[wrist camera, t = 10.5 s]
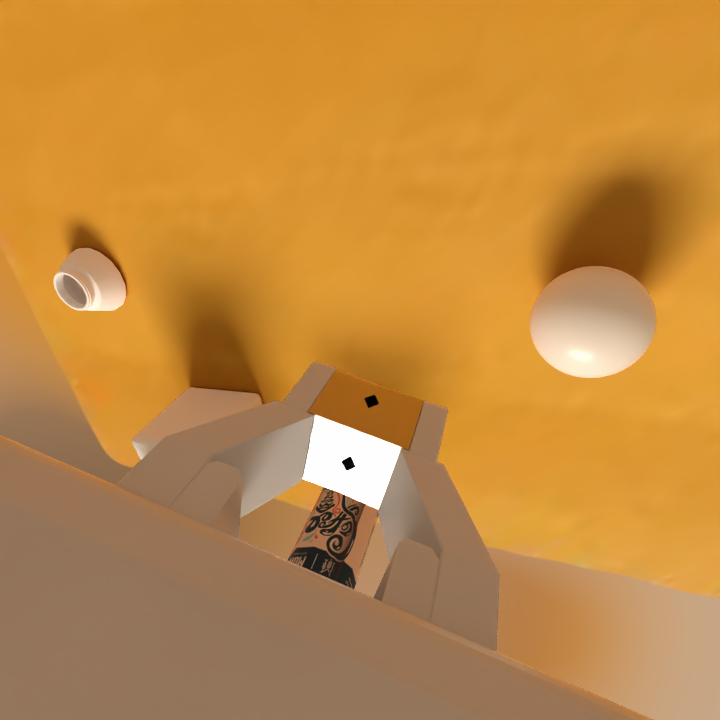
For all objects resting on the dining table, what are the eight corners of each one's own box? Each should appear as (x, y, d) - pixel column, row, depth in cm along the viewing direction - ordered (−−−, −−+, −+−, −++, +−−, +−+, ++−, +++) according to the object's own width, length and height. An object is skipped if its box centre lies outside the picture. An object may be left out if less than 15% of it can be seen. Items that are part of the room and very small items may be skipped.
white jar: (132, 315, 35) (127, 259, 32) (103, 331, 33) (95, 272, 30) (80, 293, 36) (71, 237, 33) (48, 308, 33) (35, 248, 30)
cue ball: (686, 372, 18) (688, 267, 20) (564, 326, 18) (579, 225, 20) (597, 405, 23) (606, 319, 25) (501, 370, 23) (519, 286, 25)
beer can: (374, 446, 34) (316, 588, 24) (399, 489, 36) (354, 638, 26) (325, 455, 36) (255, 588, 27) (351, 495, 38) (294, 634, 28)
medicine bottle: (189, 385, 37) (72, 489, 27) (260, 391, 35) (161, 508, 25) (212, 447, 41) (116, 559, 31) (279, 457, 38) (198, 581, 29)
